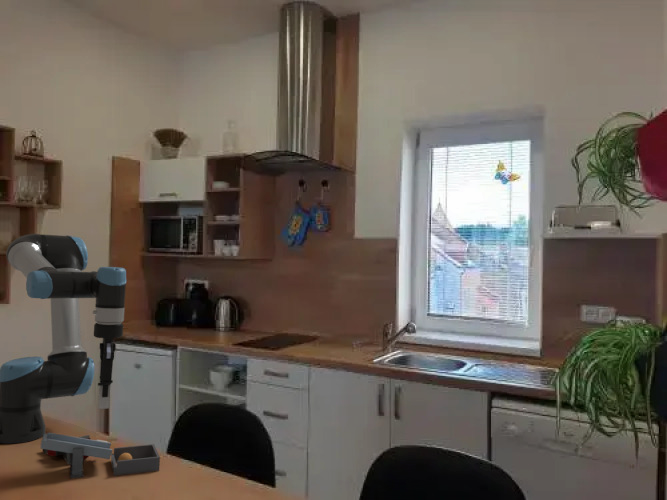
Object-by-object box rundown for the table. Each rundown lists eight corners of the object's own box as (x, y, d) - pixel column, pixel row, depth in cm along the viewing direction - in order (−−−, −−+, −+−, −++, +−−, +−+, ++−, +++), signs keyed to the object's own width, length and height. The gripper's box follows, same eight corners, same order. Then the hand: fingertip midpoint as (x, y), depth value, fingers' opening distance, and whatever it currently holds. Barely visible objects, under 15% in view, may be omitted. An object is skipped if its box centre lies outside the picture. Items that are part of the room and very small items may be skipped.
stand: (70, 466, 148) (71, 439, 149) (82, 465, 150) (84, 438, 150) (70, 478, 141) (71, 449, 141) (83, 477, 142) (84, 448, 142)
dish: (111, 460, 154) (111, 448, 154) (153, 456, 159) (154, 444, 159) (114, 475, 144) (114, 461, 144) (159, 470, 149) (159, 457, 149)
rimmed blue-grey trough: (42, 434, 150) (45, 425, 150) (106, 444, 157) (109, 436, 157) (40, 448, 139) (43, 439, 139) (109, 459, 146) (112, 450, 146)
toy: (36, 464, 156) (68, 465, 148) (35, 441, 157) (67, 441, 149) (66, 456, 163) (97, 457, 156) (64, 434, 164) (96, 434, 156)
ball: (125, 466, 152) (114, 459, 151) (134, 455, 153) (123, 448, 152) (126, 471, 149) (115, 464, 147) (135, 459, 150) (125, 452, 148)
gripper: (93, 319, 159) (88, 402, 159) (95, 325, 148) (89, 415, 147) (121, 319, 163) (116, 401, 162) (125, 325, 151) (120, 413, 150)
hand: (103, 407), depth 155 cm, fingers closed
